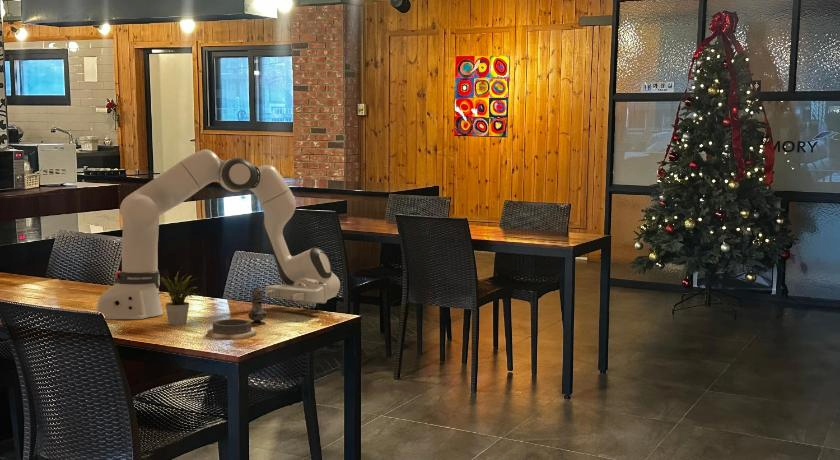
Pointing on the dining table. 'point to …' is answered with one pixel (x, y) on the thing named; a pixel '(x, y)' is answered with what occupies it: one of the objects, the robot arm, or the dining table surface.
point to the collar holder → (231, 329)
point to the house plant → (177, 300)
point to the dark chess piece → (257, 308)
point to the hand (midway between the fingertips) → (279, 296)
